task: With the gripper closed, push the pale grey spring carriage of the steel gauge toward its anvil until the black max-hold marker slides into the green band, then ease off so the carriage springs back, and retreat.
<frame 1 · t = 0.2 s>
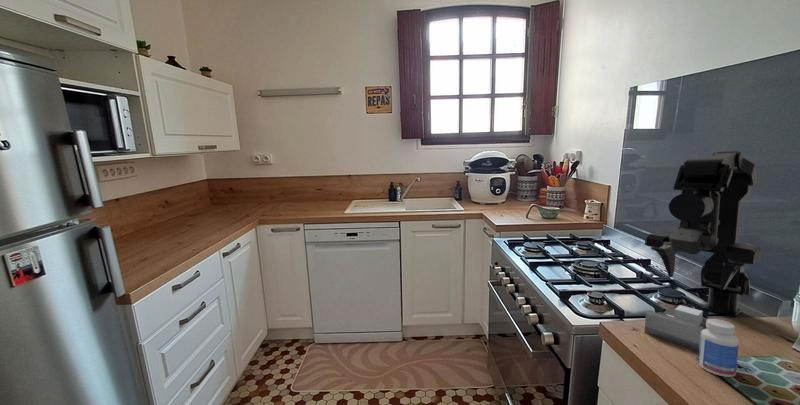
hand: (695, 282, 73), 14 cm above the worktop, tool pointing down, fingers open, 9 cm apart
pill bottle: (716, 370, 64), on the worktop
max marker: (661, 315, 82), point 2 cm above the worktop, slide at 0.0 cm
gauge base: (682, 329, 80), on the worktop
spring carriage: (680, 313, 81), point 3 cm above the worktop, slide at 0.0 cm
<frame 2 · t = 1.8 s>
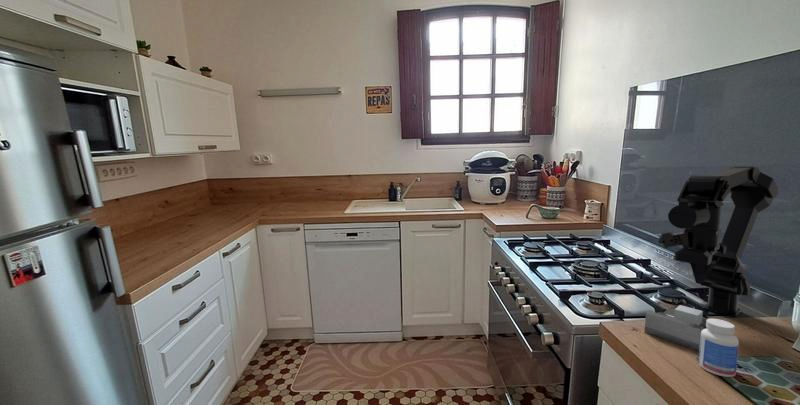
hand: (699, 283, 83), 10 cm above the worktop, tool pointing down, fingers closed
nothing on the worktop moved.
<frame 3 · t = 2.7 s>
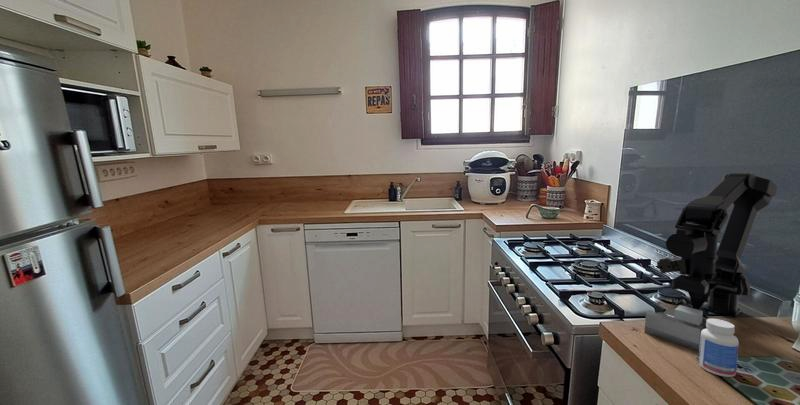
hand: (696, 309, 84), 3 cm above the worktop, tool pointing down, fingers closed
nothing on the worktop moved.
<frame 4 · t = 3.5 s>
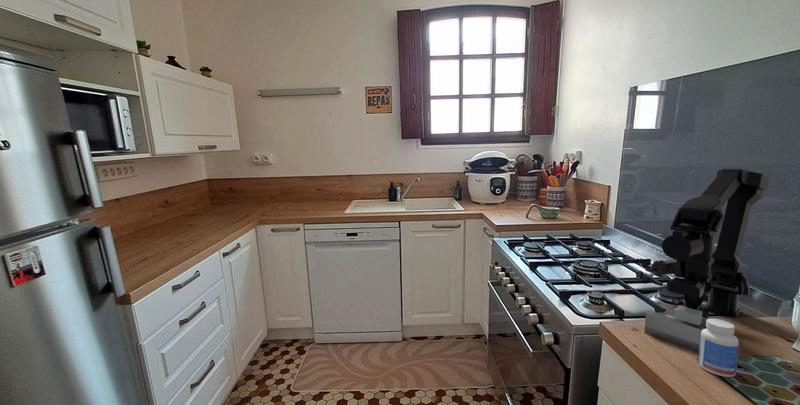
hand: (691, 313, 82), 3 cm above the worktop, tool pointing down, fingers closed
max marker: (661, 315, 82), point 2 cm above the worktop, slide at 0.2 cm, touching spring carriage
spring carriage: (680, 314, 81), point 3 cm above the worktop, slide at 0.5 cm, touching gripper, max marker
everything else where it was.
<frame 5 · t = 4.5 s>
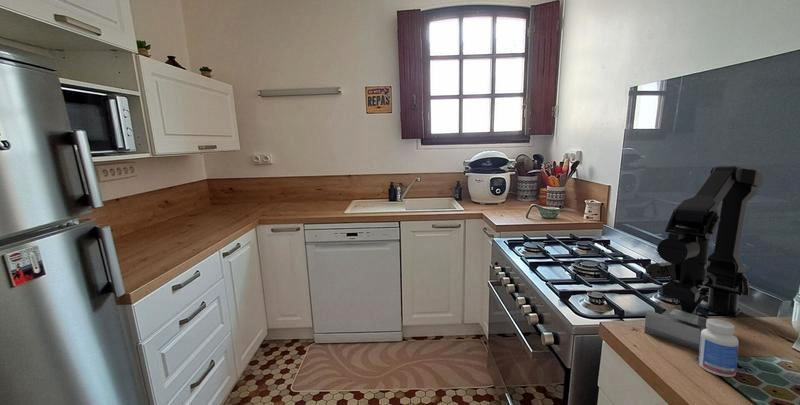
hand: (686, 317, 80), 3 cm above the worktop, tool pointing down, fingers closed
max marker: (656, 319, 80), point 2 cm above the worktop, slide at 3.6 cm, touching spring carriage
spring carriage: (675, 318, 79), point 3 cm above the worktop, slide at 3.9 cm, touching gripper, max marker
everything else where it was.
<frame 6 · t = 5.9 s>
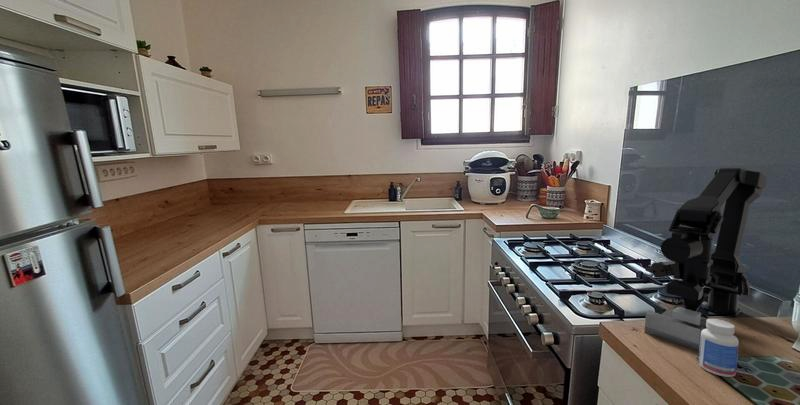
hand: (690, 315, 81), 3 cm above the worktop, tool pointing down, fingers closed
max marker: (656, 319, 80), point 2 cm above the worktop, slide at 3.6 cm
spring carriage: (678, 315, 80), point 3 cm above the worktop, slide at 1.5 cm, touching gripper
everything else where it was.
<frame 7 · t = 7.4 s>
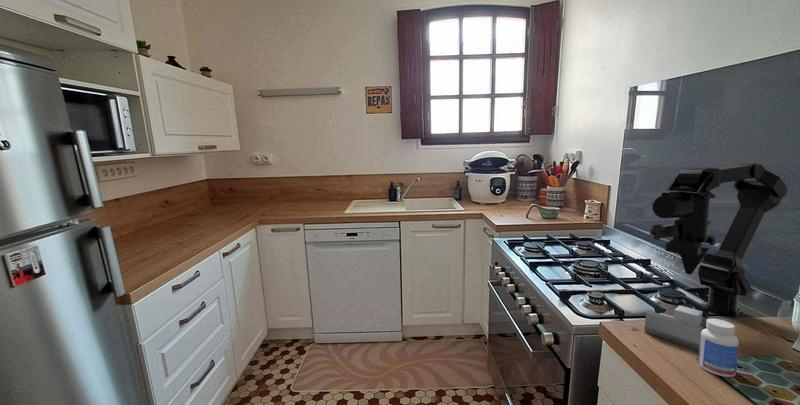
hand: (688, 274, 85), 12 cm above the worktop, tool pointing down, fingers closed
spring carriage: (680, 314, 81), point 3 cm above the worktop, slide at 0.4 cm
everything else where it was.
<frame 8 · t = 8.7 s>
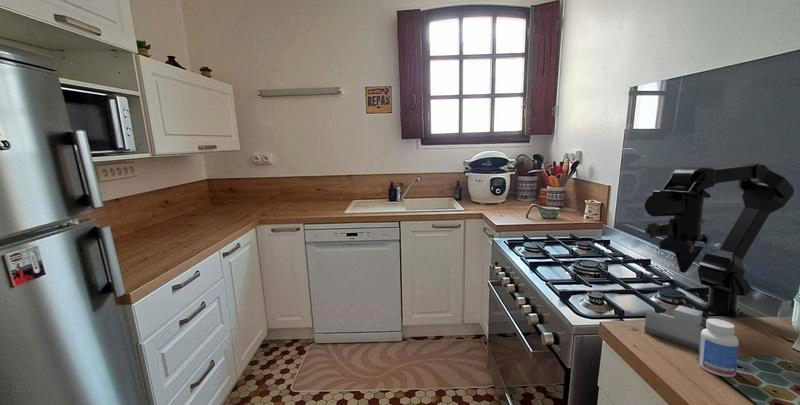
hand: (683, 272, 86), 12 cm above the worktop, tool pointing down, fingers closed
nothing on the worktop moved.
at the end: max marker slide at 3.6 cm; spring carriage slide at 0.4 cm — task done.
